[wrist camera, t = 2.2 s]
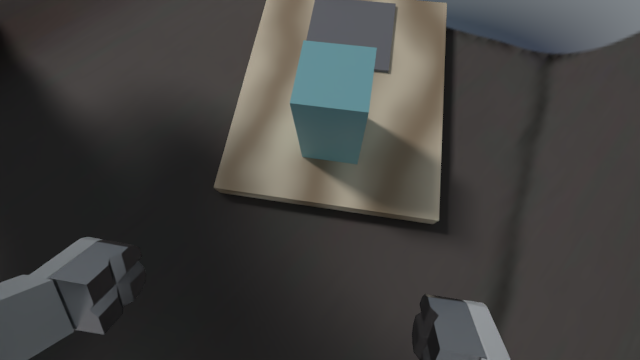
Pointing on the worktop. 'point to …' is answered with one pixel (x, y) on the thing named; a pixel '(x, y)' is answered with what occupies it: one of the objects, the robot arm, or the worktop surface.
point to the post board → (380, 132)
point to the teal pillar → (332, 99)
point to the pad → (355, 26)
